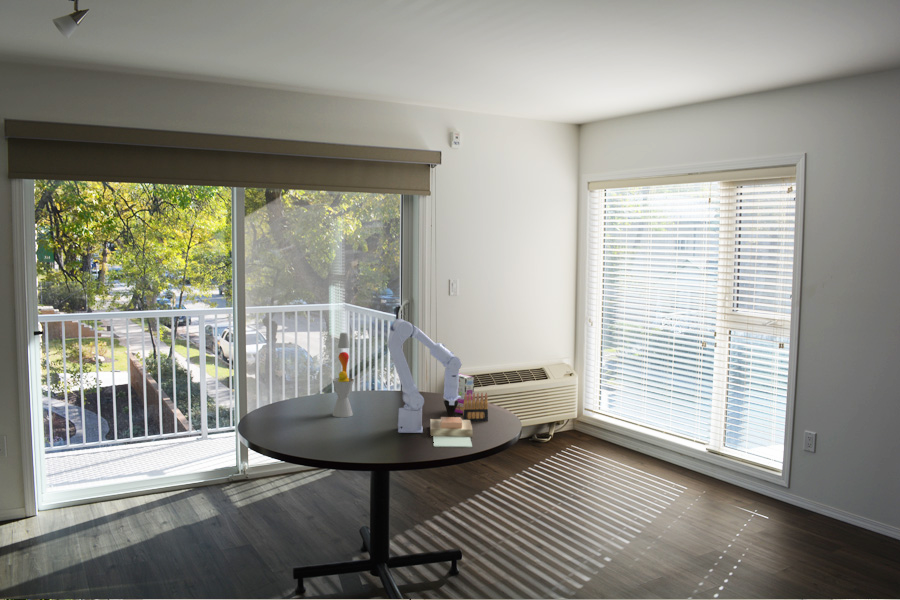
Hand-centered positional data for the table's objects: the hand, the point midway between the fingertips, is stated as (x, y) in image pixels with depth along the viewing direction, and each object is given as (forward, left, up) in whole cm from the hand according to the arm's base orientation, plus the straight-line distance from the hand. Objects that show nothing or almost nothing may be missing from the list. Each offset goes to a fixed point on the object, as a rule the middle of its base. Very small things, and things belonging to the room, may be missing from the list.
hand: (450, 418), depth 257 cm
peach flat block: (0, -7, -1) cm, 7 cm away
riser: (0, -6, -4) cm, 7 cm away
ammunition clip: (+11, +11, -4) cm, 16 cm away
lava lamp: (-45, +17, -4) cm, 48 cm away
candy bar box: (+6, +25, -4) cm, 26 cm away
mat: (0, -19, -4) cm, 19 cm away
